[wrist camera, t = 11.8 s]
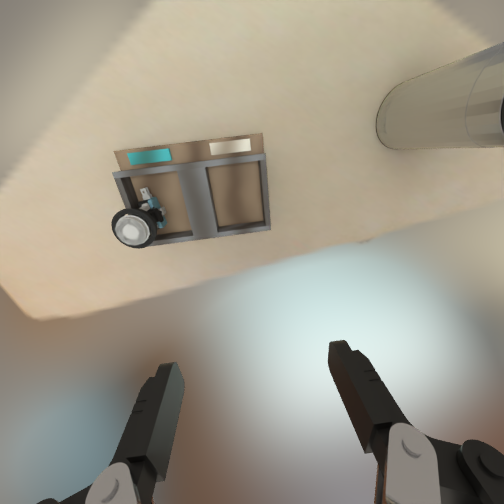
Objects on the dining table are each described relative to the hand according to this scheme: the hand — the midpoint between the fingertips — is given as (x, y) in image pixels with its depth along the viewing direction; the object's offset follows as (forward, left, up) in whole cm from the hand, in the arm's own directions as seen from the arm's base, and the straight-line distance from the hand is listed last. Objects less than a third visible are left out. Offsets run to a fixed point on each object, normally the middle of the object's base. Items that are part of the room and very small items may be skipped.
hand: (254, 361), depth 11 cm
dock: (+6, -4, -30) cm, 30 cm away
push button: (+14, -3, -28) cm, 31 cm away
